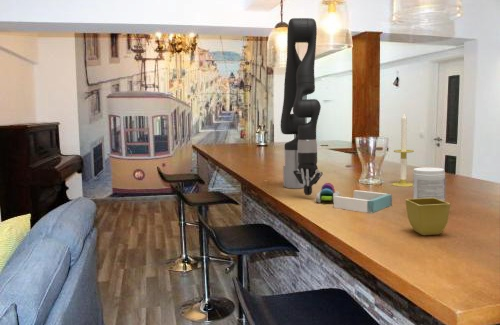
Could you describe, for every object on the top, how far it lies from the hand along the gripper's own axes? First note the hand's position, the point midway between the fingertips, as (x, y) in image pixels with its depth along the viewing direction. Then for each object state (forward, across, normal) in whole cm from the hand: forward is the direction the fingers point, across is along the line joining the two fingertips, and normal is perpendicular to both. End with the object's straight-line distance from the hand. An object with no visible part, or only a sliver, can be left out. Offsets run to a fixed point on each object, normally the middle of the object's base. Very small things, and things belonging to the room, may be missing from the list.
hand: (308, 194), depth 169 cm
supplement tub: (+2, +46, +3) cm, 46 cm away
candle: (+2, +17, +49) cm, 52 cm away
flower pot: (+2, +54, -19) cm, 57 cm away
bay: (+2, +24, 0) cm, 24 cm away
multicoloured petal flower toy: (+2, +9, 0) cm, 10 cm away
